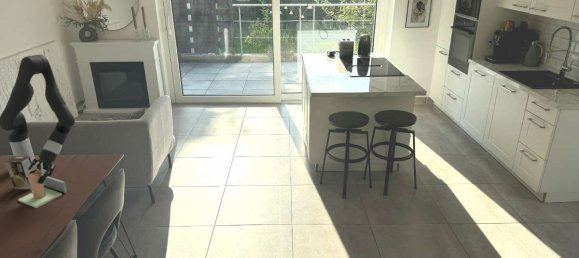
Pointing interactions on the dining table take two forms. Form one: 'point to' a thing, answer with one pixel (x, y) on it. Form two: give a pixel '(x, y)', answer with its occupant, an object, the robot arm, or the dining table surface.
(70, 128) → the robot arm
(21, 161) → the coffee box
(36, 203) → the pad
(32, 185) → the peach rounded cylinder
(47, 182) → the low wall
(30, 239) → the dining table surface
